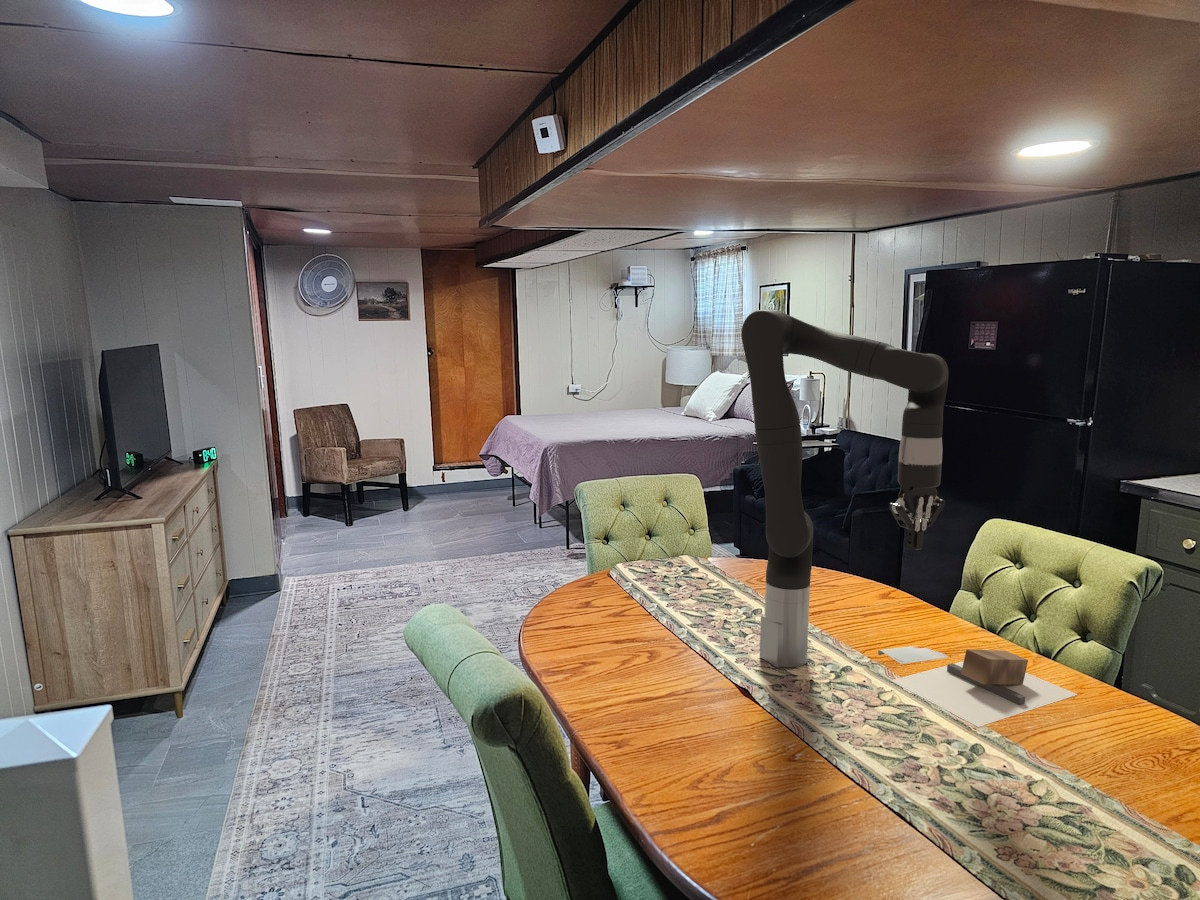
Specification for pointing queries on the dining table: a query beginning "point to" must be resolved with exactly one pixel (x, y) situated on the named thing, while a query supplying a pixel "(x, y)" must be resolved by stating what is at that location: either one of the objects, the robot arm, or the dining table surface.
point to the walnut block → (994, 667)
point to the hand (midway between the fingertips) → (914, 548)
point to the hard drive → (912, 654)
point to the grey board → (981, 694)
